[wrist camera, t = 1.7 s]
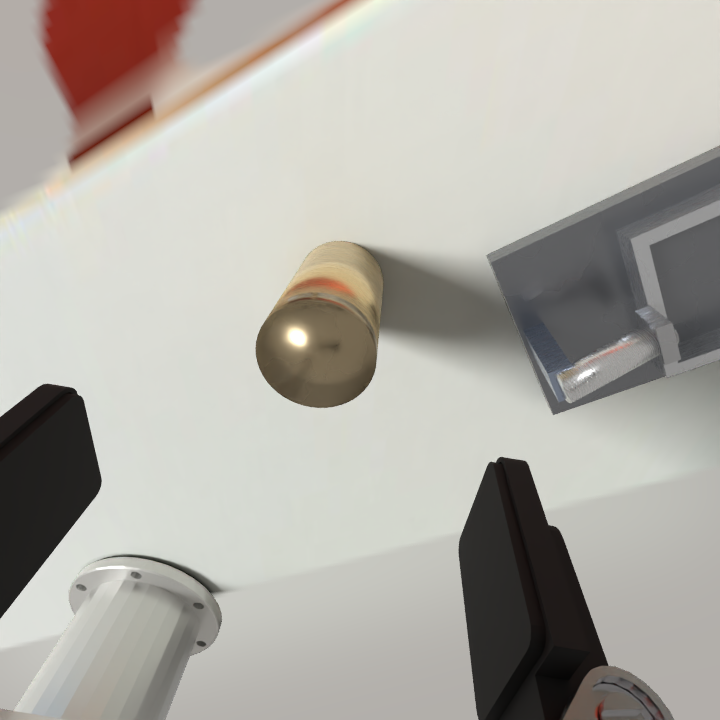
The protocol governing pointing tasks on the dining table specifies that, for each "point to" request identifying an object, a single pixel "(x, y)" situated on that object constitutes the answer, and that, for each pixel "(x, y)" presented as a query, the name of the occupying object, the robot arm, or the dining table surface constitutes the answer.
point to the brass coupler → (324, 328)
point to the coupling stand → (620, 287)
